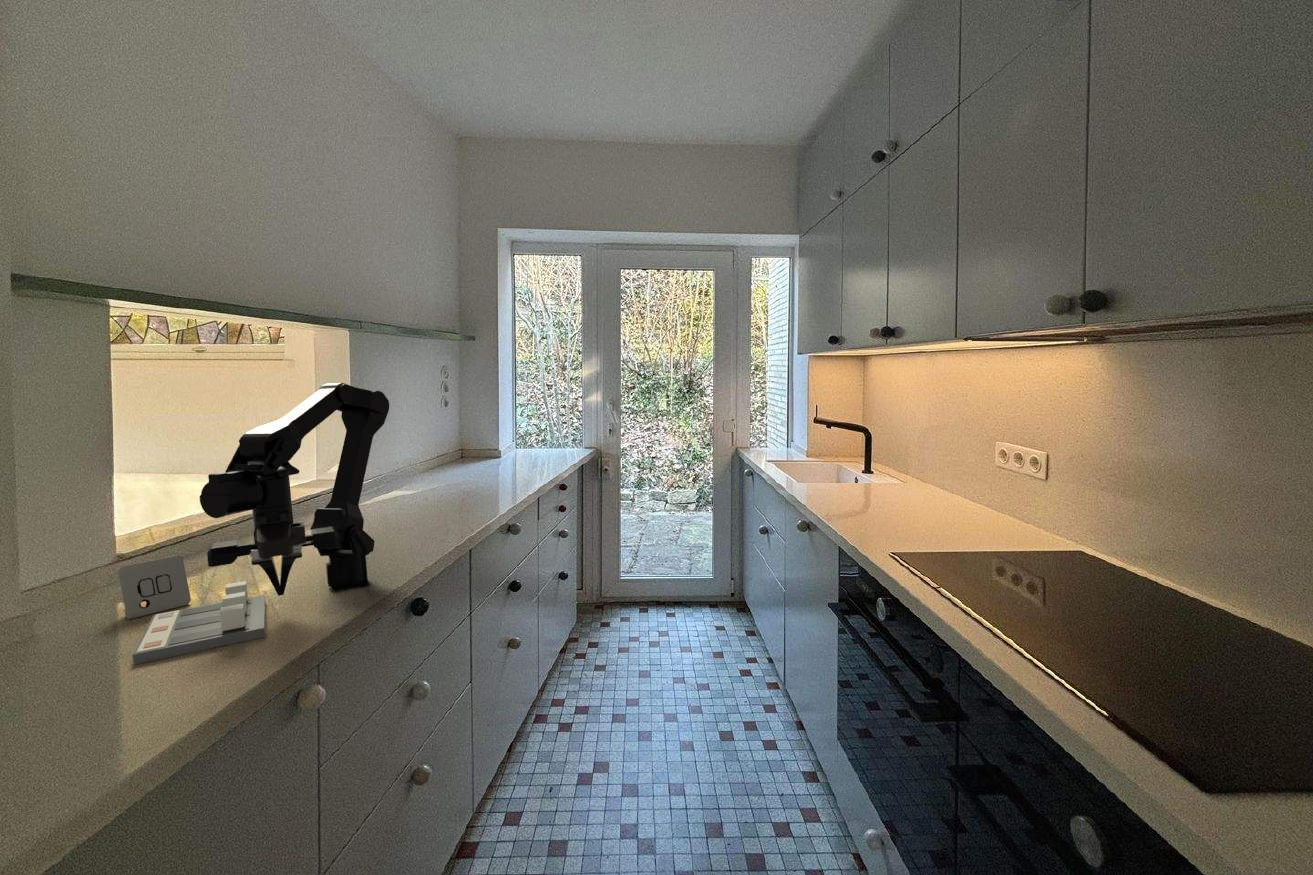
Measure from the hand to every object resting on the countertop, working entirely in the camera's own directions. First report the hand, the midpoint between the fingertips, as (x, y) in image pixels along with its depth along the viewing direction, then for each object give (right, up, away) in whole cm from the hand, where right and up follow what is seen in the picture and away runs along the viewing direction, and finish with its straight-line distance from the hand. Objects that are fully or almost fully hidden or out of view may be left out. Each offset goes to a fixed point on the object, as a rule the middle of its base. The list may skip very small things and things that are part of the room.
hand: (280, 594), depth 107 cm
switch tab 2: (-5, -2, -3) cm, 7 cm away
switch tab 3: (-2, -3, -9) cm, 10 cm away
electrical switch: (-26, -4, +6) cm, 27 cm away
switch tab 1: (-9, -2, +3) cm, 10 cm away
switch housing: (-9, -4, -5) cm, 11 cm away
